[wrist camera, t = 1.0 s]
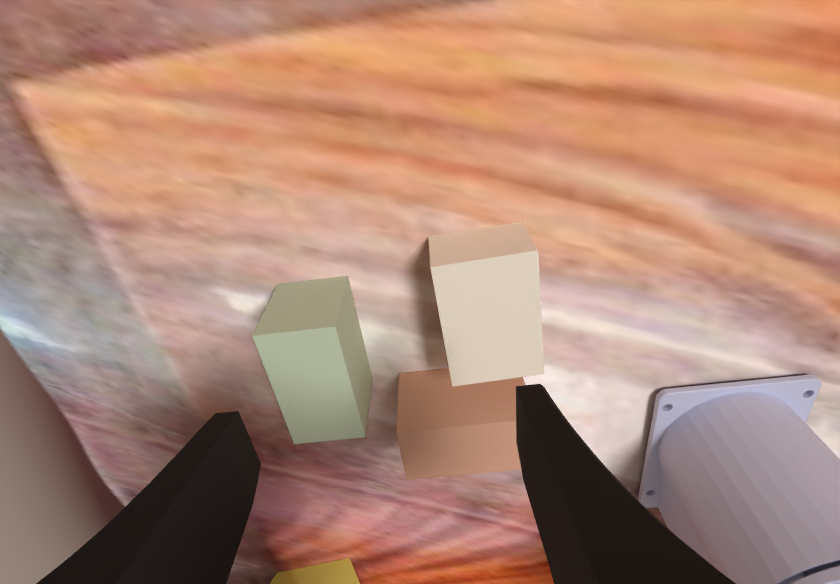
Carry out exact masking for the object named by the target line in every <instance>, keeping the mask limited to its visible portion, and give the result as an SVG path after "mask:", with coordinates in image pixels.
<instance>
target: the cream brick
mask: <svg viewBox="0 0 840 584" xmlns="http://www.w3.org/2000/svg"><path fill="white" fill-rule="evenodd" d="M428 239H429V254H430V268H431V273H432V279H433V284H434V290H435V295H436V300H437V306H438V311H439V317H440V322H441V328H442V333H443V339H444V344H445V349H446V355H447V360H448V366H449V371H450V377H451V382H452V387H454V386H461V385H468V384H475V383H482V382H490V381H497V380H504V379H511V378H518V377H526V376H533V375H540V374H544V360H543V340H542V319H541V299H540V279H539V259H538V249H537V247H536V245H535V243H534V241H533V240H532V238H531V236H530V234H529V232H528V230H527V228H526V226H525V224H524V222H523V221H521V222H515V223H509V224H503V225H497V226H491V227H485V228H478V229H472V230H466V231H460V232H454V233H448V234H441V235H435V236H429V237H428Z"/></svg>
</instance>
